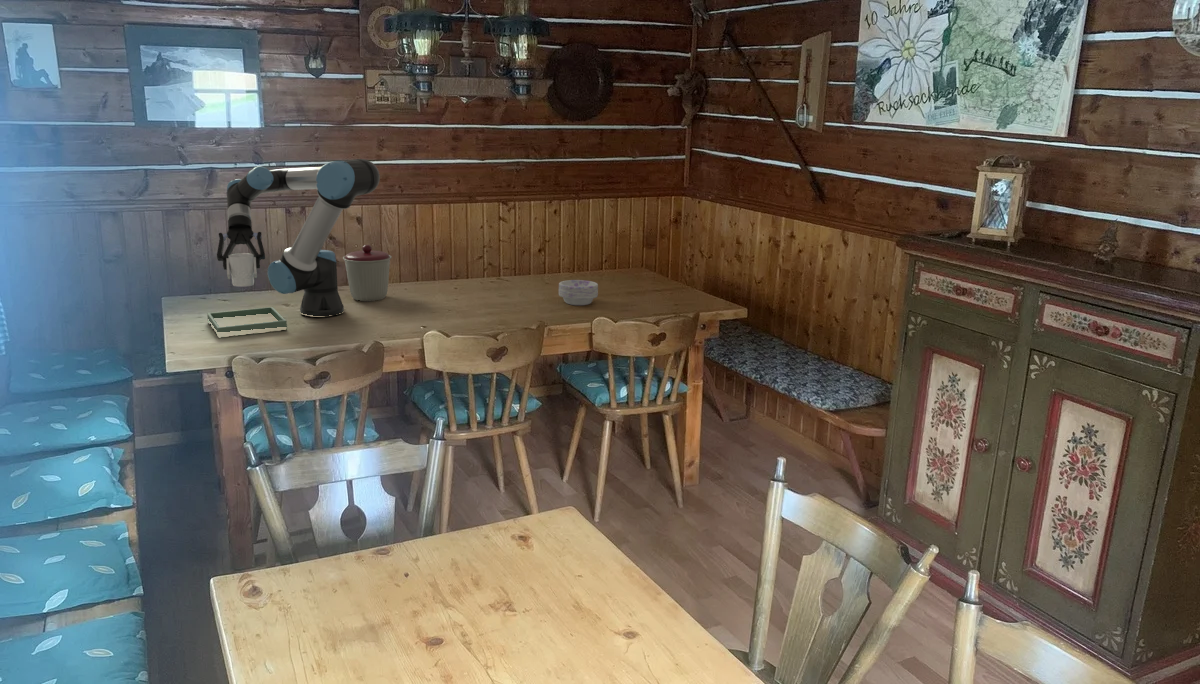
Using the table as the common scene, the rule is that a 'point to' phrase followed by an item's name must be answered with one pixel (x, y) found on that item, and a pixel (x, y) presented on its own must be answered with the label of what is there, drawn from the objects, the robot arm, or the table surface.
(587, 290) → the paper bowls
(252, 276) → the white cup
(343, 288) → the table surface
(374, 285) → the canister
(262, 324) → the green box
